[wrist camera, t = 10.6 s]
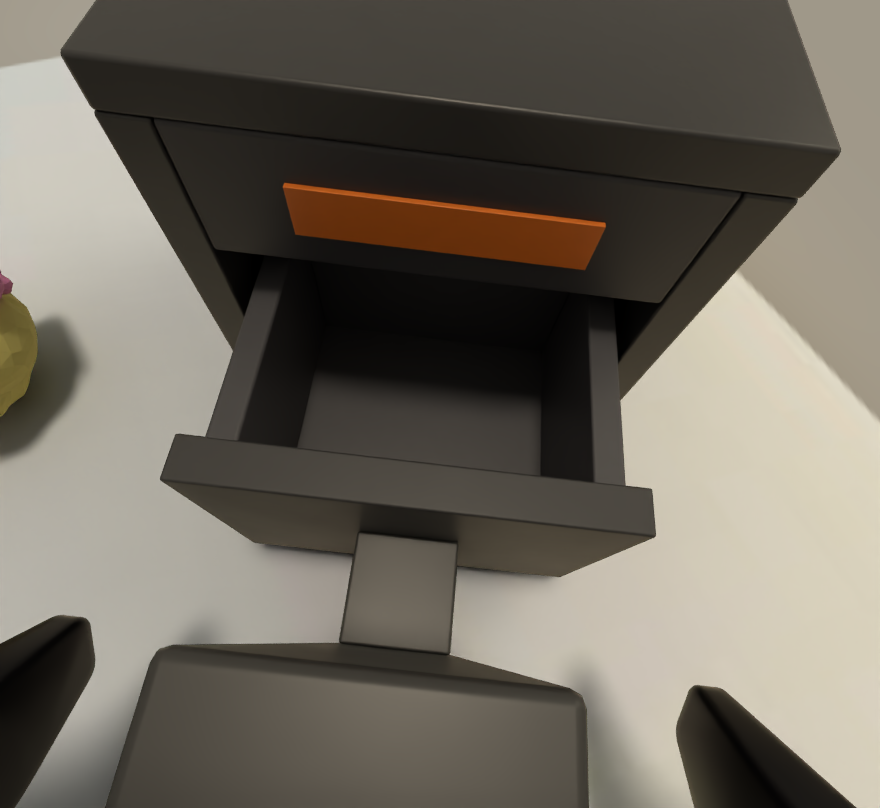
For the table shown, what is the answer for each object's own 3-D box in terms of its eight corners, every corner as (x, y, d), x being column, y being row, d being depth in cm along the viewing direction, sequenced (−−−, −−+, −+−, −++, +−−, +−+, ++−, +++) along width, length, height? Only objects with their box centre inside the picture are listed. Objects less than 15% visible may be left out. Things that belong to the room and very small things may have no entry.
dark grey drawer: (561, 768, 11) (1313, 1371, 2) (204, 730, 11) (-810, 1177, 2) (559, 349, 16) (775, -58, 7) (310, 319, 16) (176, -138, 6)
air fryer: (587, 441, 15) (847, 157, 6) (260, 403, 15) (51, 55, 6) (581, 240, 19) (743, -127, 10) (315, 208, 19) (233, -196, 10)
